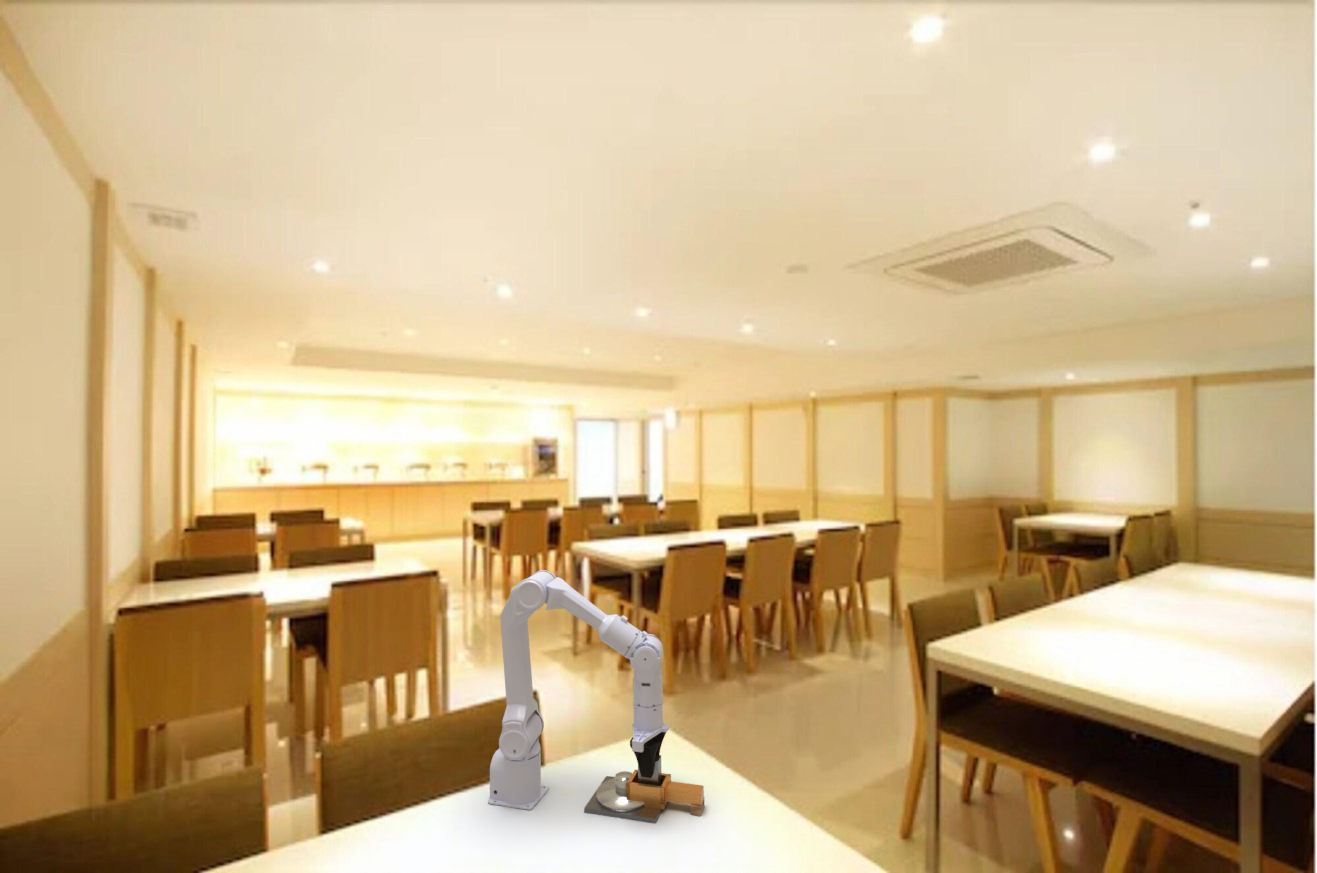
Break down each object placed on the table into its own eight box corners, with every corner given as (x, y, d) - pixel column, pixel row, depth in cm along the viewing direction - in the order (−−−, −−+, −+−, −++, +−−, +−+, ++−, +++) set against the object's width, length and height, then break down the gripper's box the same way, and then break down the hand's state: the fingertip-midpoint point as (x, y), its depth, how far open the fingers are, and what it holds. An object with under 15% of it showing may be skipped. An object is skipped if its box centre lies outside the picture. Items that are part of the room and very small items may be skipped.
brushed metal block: (638, 795, 118) (637, 758, 118) (641, 788, 120) (641, 752, 121) (658, 798, 117) (657, 761, 117) (661, 791, 119) (661, 755, 120)
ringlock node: (584, 812, 116) (584, 787, 116) (606, 779, 127) (606, 757, 128) (695, 829, 110) (695, 803, 110) (708, 793, 122) (708, 770, 122)
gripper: (657, 719, 111) (658, 795, 111) (676, 689, 125) (677, 757, 125) (620, 715, 113) (621, 790, 113) (643, 686, 127) (644, 753, 127)
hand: (648, 772), depth 119 cm, fingers closed on brushed metal block, 2 cm apart
